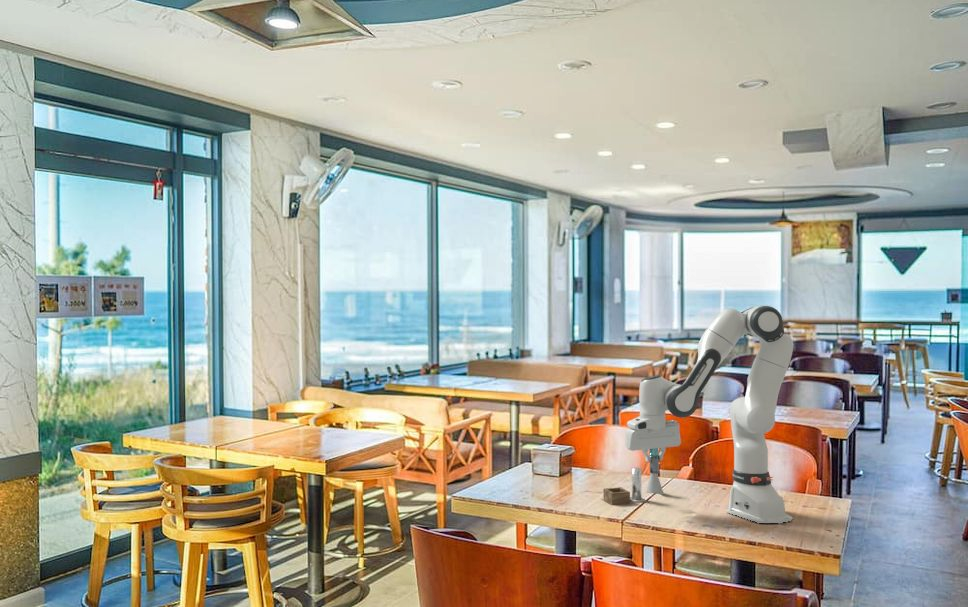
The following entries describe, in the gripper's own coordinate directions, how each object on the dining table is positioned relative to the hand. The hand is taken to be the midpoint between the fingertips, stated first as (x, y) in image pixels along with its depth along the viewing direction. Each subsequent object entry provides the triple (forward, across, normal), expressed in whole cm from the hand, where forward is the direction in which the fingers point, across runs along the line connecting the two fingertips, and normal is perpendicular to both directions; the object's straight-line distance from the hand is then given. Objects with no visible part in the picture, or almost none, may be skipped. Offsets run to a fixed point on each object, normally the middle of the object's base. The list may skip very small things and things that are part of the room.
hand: (654, 460), depth 267 cm
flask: (+17, -9, -17) cm, 26 cm away
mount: (+16, +8, -8) cm, 20 cm away
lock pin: (+15, +3, -8) cm, 18 cm away
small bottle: (+4, 0, 0) cm, 4 cm away
